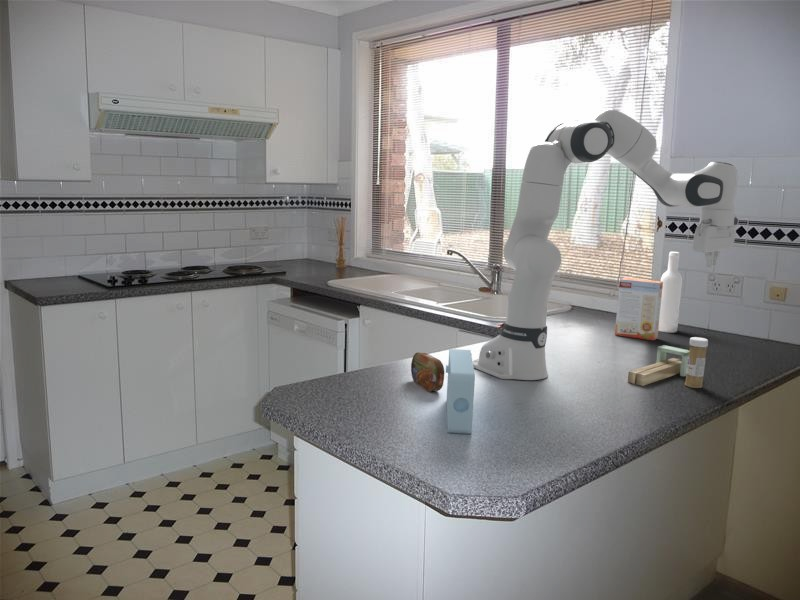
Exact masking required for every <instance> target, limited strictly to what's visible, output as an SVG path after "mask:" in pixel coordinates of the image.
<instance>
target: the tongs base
mask: <svg viewBox="0 0 800 600" xmlns="http://www.w3.org/2000/svg"><path fill="white" fill-rule="evenodd" d="M675 361H682V358H675V357H671V358H668V359H666V360H665V361H661V362H658V363H656V362H655V363H652V364H649V365H645V366H642V367H639V368H637V369H632V370H630V371H628V375H627V383H630V384H634V385H636V382H637V374H638V373H641V372H644V371H647V370H650V369H653V368H656V367H660V366H663V365H666V364H669V363H672V362H675Z"/></svg>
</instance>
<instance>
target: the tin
mask: <svg viewBox="0 0 800 600" xmlns="http://www.w3.org/2000/svg"><path fill="white" fill-rule="evenodd" d="M410 365H411V366H410V372H411V378H412V380H413V383H414V384H416V385H417V386H419V387H421V388H422V389H423V390H426V391H427V392H429V393H430V392H439V391H441V390H442V388H443V386H444V380H445V367H444V364H443V362H442V360H441V359H438V358H437V357H434V356H432V355H431V354H430V353H427V352H415V354H413V356H412V359H411V364H410Z"/></svg>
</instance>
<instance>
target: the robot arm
mask: <svg viewBox="0 0 800 600" xmlns="http://www.w3.org/2000/svg"><path fill="white" fill-rule="evenodd" d="M656 149H657V139H656V137H655V136H654V135H653V133H652V132H651V131H650V130H649V129H648V128H646V127H645V126H644V125H643V124H641V123H640V122H638V121H637V120H635V119H634V118H632V117H630V116H629V115H627V114H626V113H624V112H622V111H619V110H617V109H614V108H605V109H604V110H601V111H600V112H599V113H597V115H595V117H594V118H593V120H586V121H585V120H574V121H573V120H572V121H569V122H563V123H560V124H558V125H556V126H555V127H554V128H553V129H551V130H550V132H549V133H548V135H547V137H546V139H545V140H544V141H543V142H539V143H536V144H535V145H533V146H532V147H531V148H530V150H529V152H528V154H527V157H526V161H525V164H524V169H523V172H522V177H521V184H520V188H519V189H520V190H519V196H518V197H519V198H518V203H517V208H516V212H515V217H514V220H513V222H512V225H511V228H510V232H509V235H508V238H507V240H506V242H505V243H504V246H503V249H502V250H503V251H502V253H503V258H504V260H505V261H506V264H507V265H508V266H509V268H511V270H514V278H513V282H512V285H511V287H510V291H509V292H508V294H507V301H506V316H505V322H502V323H501V324H497V326H498V327H497V329H499V330H500V332H499V334H498V335H497V336H495V337H494V338H492V339H490V340H489V341H487V342H486V343H485V344H483V345H482V346H481V348H480V351H479V354H478V356H479V357H478V358H477V359H474V360H472V361H473V367H474V369H476V370H479V371H481V372H484V373H486V374H489V375H490V376H491V375H492V376H494V377H496V378H499V379H501V380H521V381H536V380H543V379H546V378H547V377H548V376H549V373H548V368H547V363H546V362H547V361H546V345H547V344H546V343H547V337H548V326H547V314H548V304H549V297H550V292H551V290H552V286H553V282H554V278H555V276H556V274H557V272H558V271H559V269H560V268H561V265H562V254H561V252H560V250H559V248H558V247H557V246H556V245H555V244H554V242H553V241H551V240H550V239H549V235H550V232H551V229H552V228H553V225H554V223H555V221H556V220H557V218H558V217H559V211H560V206H561V199H562V194H563V186H564V181H565V180H564V179H565V174H566V171H567V169H568V167H569V166H570V164H571V163H572V164H584V163H593V162H596V161H598V160H600V159H602V158H603V157H604V156H605V155H606V154H609V156H611V157H612V158H614V159H615V160H616V161H618V162H619V163H621V164H622V165H623V166H625V167H627V168H628V169H629V170H630V171H631V172H632V173H633V174H634V175H635V176H637V177H638V178H639V179H641V181H643V182H644V183H645V184H646V185H647V186H648V187H650V189H652V191H653V193H654V194H655V197H656V198H657V199H658V201H659V202H660V203H661V204H662V205H663V206H665V207H669V208H672V207H673V208H674V207H684V208H685V207H686V208H700V207H701V208H700V215H699V224H698V225H697V226H696V228H695V231H694V235H693V239H692V241H693V242H692V245H691V246H692V247H691V248H692V250H693V252H695V253H704V256H705V257H704V258H705V266H706V267H709V268H713V267H716V266H717V261H718V259H719V257H720V252H722V251H731V250H732V249H733V247H734V244H735V239H736V233H737V226H739V218H738V217H737V216H736V214H735V205H734V204H735V198H736V196H737V190H738V180H739V179H738V177H739V176H738V170H737V167H736V166H734V165H733V164H731V163H728V162H722V161H711V162H709V163H708V165H706V166H704V167H703V168H702V169H699V170H696V171H693V172H674V171H668V170H667V169H665V168H664V167H663V166H661V165H660V164H659V163H658V162H657V161H656V160H655V159H654V158H653V157H654V154H655V153H656Z"/></svg>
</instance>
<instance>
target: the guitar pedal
mask: <svg viewBox="0 0 800 600" xmlns="http://www.w3.org/2000/svg"><path fill="white" fill-rule="evenodd" d="M448 351H449V352H448V364H447V365H445V373H446V374H447V385H446V420H447V421H446V422H447V433H449V434H450V433H451V434H463V435H464V434H465V435H472V430H473V418H474V417H473V416H474V415H473V414H474V399H475V398H474V397H475V385H476V384H475V381H476V374H475V373H476V372H475V368H474V367H473V361H474V360H473V358H472V357H473V356H472V351H471V349H460V348H458V349H456V348H449V349H448Z"/></svg>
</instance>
